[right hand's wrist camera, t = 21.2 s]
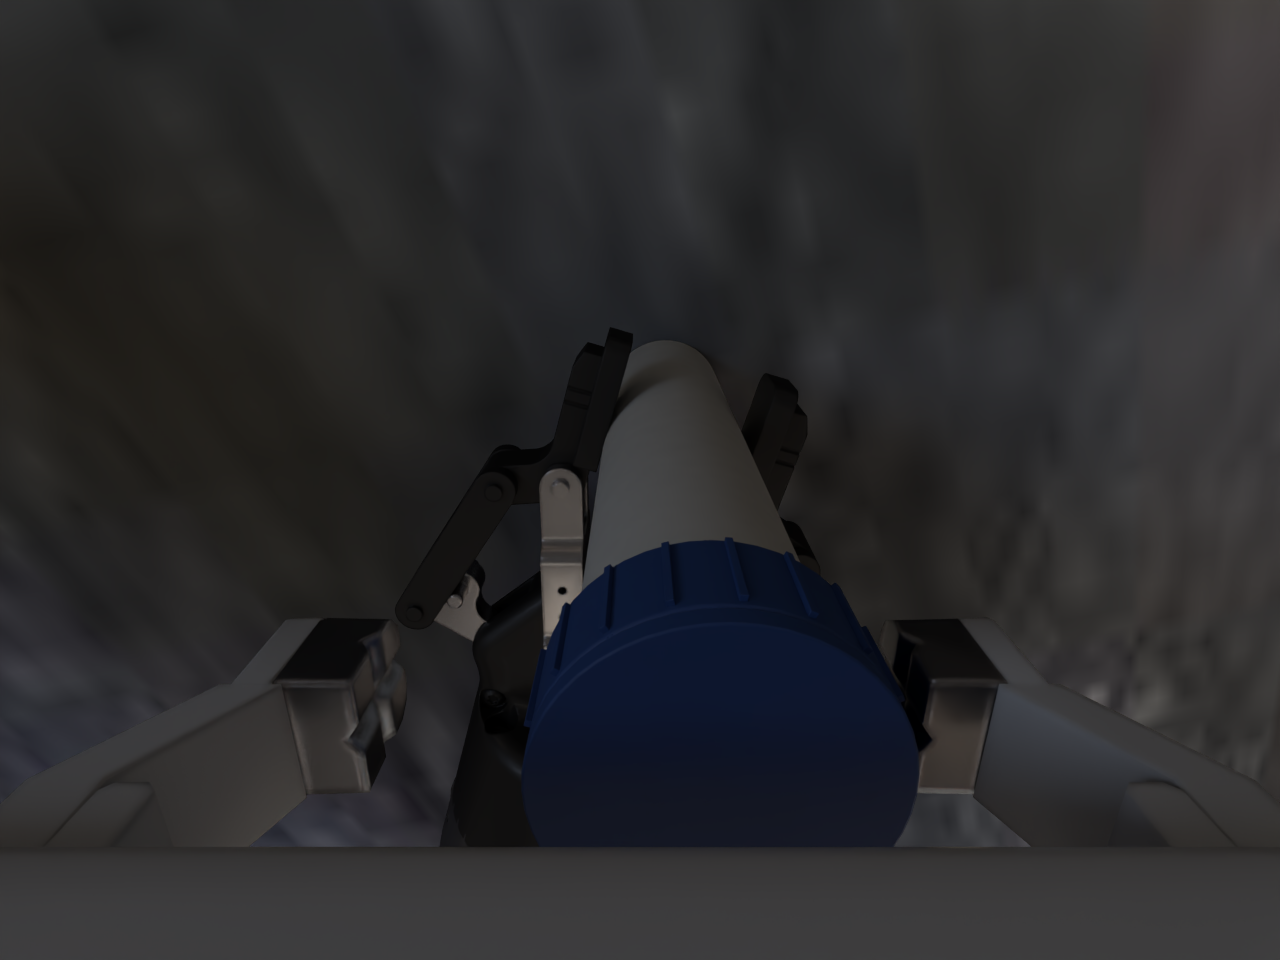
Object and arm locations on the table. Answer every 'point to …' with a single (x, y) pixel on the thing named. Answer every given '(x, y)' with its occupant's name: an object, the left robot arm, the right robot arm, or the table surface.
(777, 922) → the right robot arm
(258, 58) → the table surface
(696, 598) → the lid
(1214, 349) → the table surface
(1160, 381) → the table surface
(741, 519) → the bottle
